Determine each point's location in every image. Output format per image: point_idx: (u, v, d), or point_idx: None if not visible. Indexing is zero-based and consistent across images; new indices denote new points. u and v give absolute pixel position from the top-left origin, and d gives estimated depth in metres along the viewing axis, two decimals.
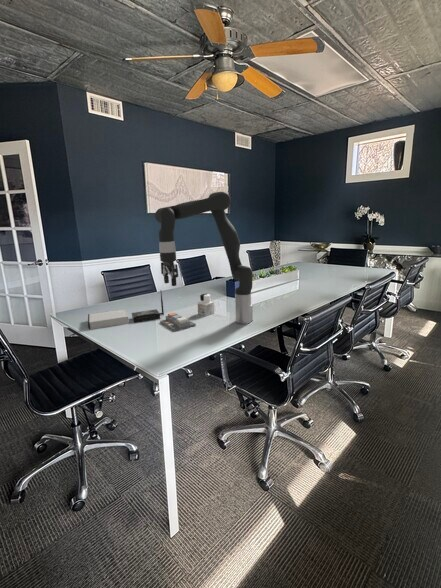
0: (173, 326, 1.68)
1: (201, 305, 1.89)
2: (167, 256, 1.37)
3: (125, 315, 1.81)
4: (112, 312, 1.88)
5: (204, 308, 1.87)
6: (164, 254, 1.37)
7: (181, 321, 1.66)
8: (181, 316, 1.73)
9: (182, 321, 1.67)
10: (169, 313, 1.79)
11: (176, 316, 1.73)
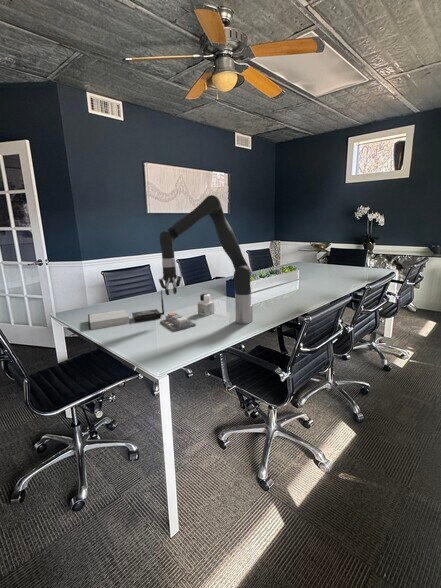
0: (173, 326, 1.68)
1: (201, 305, 1.89)
2: (175, 269, 1.72)
3: (125, 315, 1.81)
4: (112, 312, 1.88)
5: (204, 308, 1.87)
6: (175, 267, 1.71)
7: (181, 321, 1.66)
8: (181, 316, 1.73)
9: (182, 321, 1.67)
10: (169, 313, 1.79)
11: (176, 316, 1.73)
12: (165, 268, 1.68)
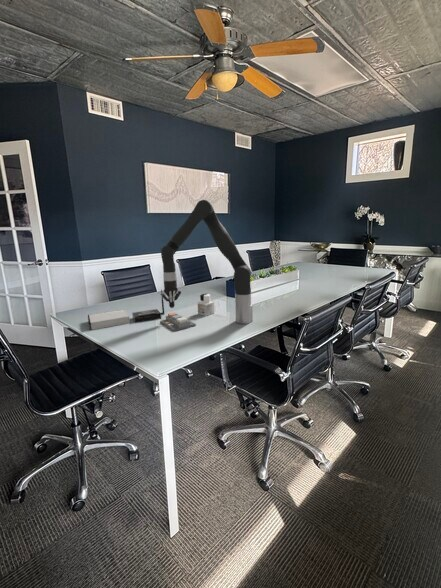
0: (173, 326, 1.68)
1: (201, 305, 1.89)
2: (176, 282, 1.74)
3: (126, 315, 1.81)
4: (111, 313, 1.87)
5: (204, 308, 1.87)
6: (176, 281, 1.73)
7: (181, 321, 1.66)
8: (181, 316, 1.73)
9: (182, 321, 1.67)
10: (169, 313, 1.79)
11: (176, 316, 1.73)
12: (166, 282, 1.70)
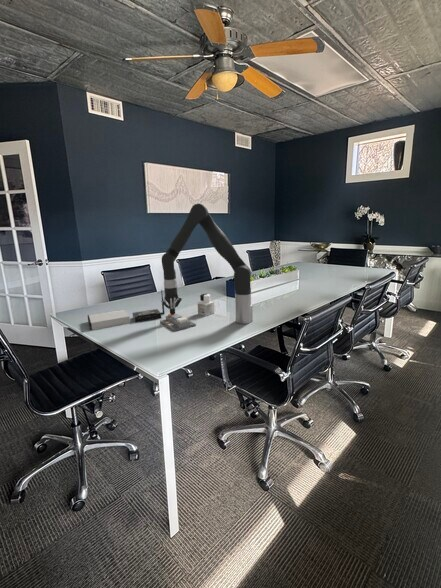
0: (173, 326, 1.68)
1: (201, 305, 1.89)
2: None
3: (126, 315, 1.81)
4: (111, 313, 1.87)
5: (204, 308, 1.87)
6: (176, 288, 1.74)
7: (181, 321, 1.66)
8: (181, 316, 1.73)
9: (182, 321, 1.67)
10: (169, 314, 1.79)
11: (176, 316, 1.73)
12: (167, 289, 1.71)
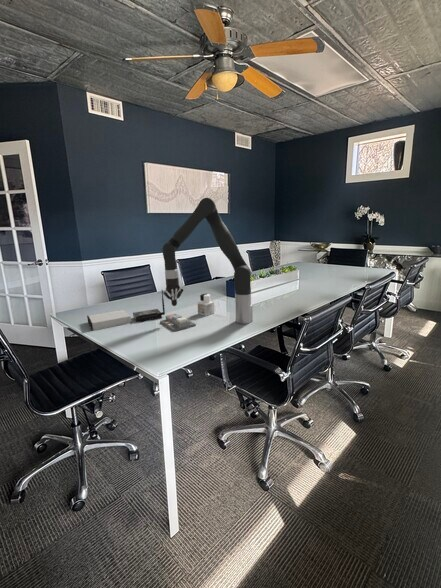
0: (173, 326, 1.68)
1: (201, 305, 1.89)
2: (178, 280, 1.72)
3: (127, 315, 1.81)
4: (111, 313, 1.87)
5: (204, 308, 1.87)
6: (177, 279, 1.71)
7: (181, 321, 1.66)
8: (181, 316, 1.73)
9: (182, 321, 1.67)
10: None
11: (176, 316, 1.73)
12: (168, 279, 1.68)
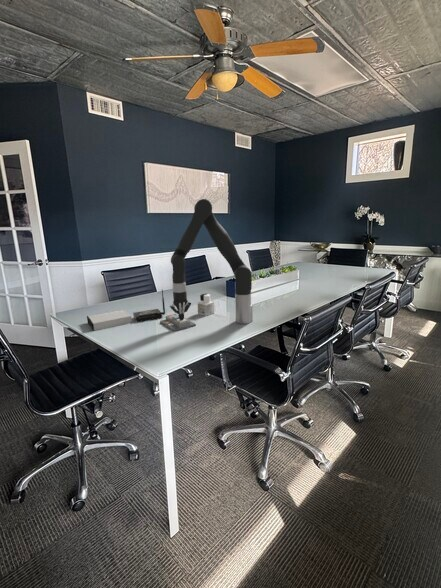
0: (173, 326, 1.68)
1: (201, 305, 1.89)
2: (186, 293, 1.65)
3: (127, 315, 1.81)
4: (111, 313, 1.86)
5: (204, 308, 1.87)
6: (185, 292, 1.64)
7: (181, 322, 1.67)
8: None
9: (182, 322, 1.67)
10: None
11: (176, 316, 1.73)
12: (176, 293, 1.62)
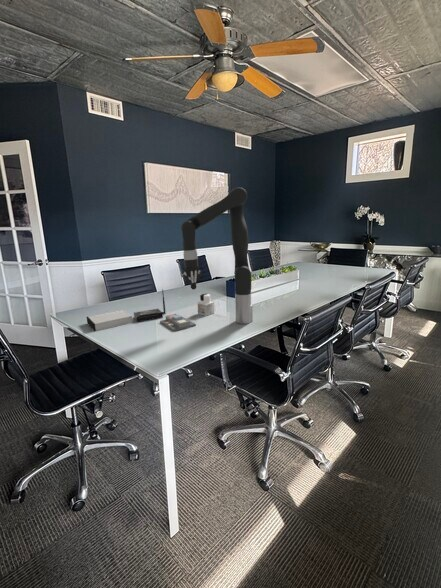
0: (173, 326, 1.68)
1: (201, 305, 1.89)
2: (197, 261, 1.62)
3: (128, 315, 1.82)
4: (111, 313, 1.86)
5: (204, 308, 1.87)
6: (197, 260, 1.60)
7: None
8: (181, 316, 1.73)
9: None
10: None
11: (176, 316, 1.73)
12: (187, 261, 1.58)
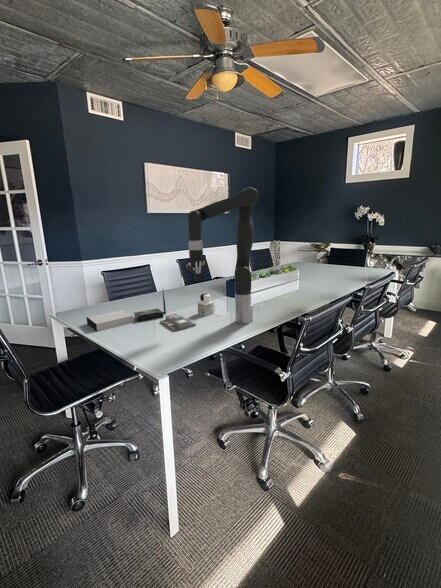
0: (173, 326, 1.68)
1: (201, 305, 1.89)
2: (202, 252, 1.61)
3: (128, 315, 1.82)
4: (111, 314, 1.85)
5: (204, 308, 1.87)
6: (202, 250, 1.59)
7: None
8: (181, 316, 1.73)
9: None
10: None
11: (176, 316, 1.73)
12: (192, 251, 1.57)
